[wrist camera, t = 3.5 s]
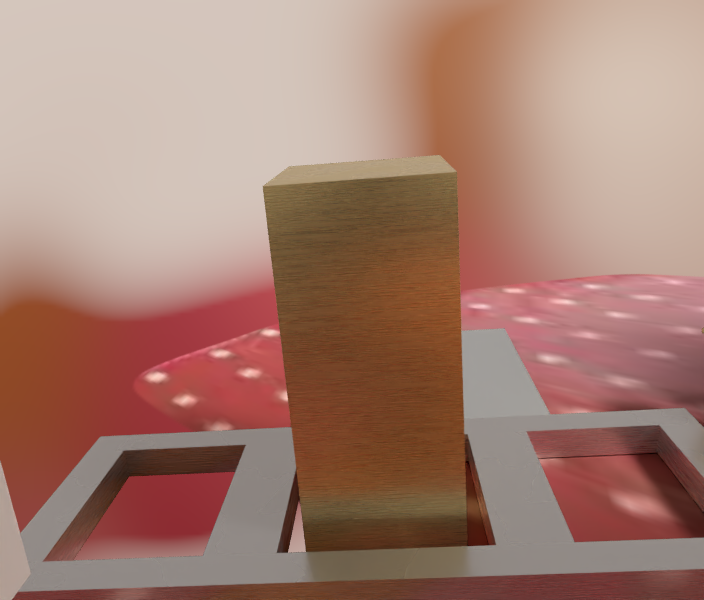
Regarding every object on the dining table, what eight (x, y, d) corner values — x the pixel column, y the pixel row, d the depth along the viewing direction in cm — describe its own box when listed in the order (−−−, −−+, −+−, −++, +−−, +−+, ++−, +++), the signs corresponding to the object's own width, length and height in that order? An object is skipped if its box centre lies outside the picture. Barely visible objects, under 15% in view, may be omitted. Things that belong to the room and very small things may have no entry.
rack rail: (682, 434, 26) (684, 407, 26) (831, 601, 17) (838, 564, 17) (105, 461, 27) (100, 436, 27) (-20, 626, 19) (-30, 593, 19)
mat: (504, 334, 38) (504, 328, 38) (551, 425, 27) (551, 416, 27) (319, 345, 39) (319, 339, 39) (297, 437, 28) (296, 429, 28)
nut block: (451, 473, 25) (439, 155, 21) (468, 563, 20) (456, 171, 16) (322, 479, 25) (289, 166, 21) (308, 568, 20) (262, 186, 17)
